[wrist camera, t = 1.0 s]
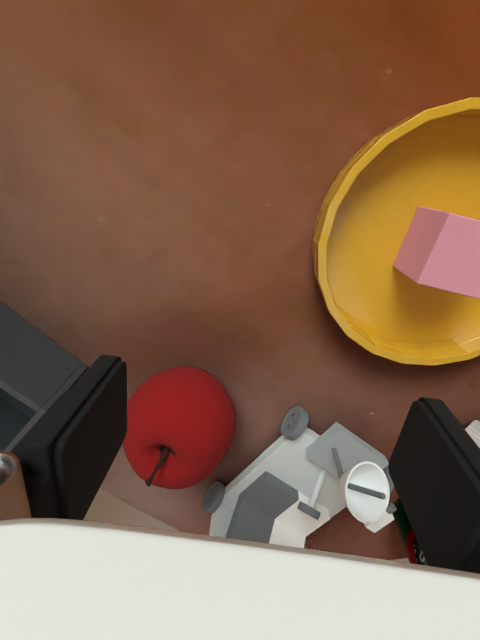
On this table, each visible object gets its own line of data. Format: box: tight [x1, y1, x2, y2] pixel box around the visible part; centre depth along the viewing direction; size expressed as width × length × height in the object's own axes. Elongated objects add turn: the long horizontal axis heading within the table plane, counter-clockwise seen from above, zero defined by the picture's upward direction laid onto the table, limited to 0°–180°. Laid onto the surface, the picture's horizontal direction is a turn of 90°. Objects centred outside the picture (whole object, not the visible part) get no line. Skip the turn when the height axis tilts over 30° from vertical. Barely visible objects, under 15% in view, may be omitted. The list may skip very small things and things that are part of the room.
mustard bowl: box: [312, 97, 480, 366], centre depth 24 cm, size 17×17×3 cm
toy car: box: [202, 406, 397, 548], centre depth 30 cm, size 18×10×12 cm
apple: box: [122, 366, 236, 489], centre depth 27 cm, size 9×9×10 cm
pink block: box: [393, 206, 480, 299], centre depth 23 cm, size 4×4×4 cm
